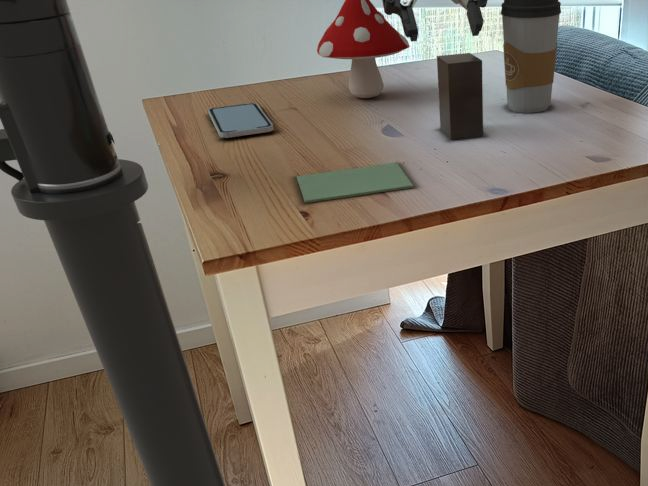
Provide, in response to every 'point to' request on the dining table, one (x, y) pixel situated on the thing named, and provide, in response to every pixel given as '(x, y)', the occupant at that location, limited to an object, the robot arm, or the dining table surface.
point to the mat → (352, 182)
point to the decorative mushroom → (361, 44)
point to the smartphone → (239, 120)
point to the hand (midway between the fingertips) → (446, 34)
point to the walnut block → (460, 95)
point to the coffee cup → (530, 52)
